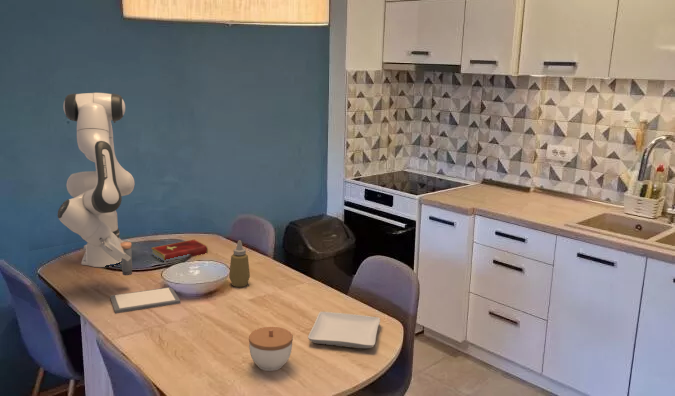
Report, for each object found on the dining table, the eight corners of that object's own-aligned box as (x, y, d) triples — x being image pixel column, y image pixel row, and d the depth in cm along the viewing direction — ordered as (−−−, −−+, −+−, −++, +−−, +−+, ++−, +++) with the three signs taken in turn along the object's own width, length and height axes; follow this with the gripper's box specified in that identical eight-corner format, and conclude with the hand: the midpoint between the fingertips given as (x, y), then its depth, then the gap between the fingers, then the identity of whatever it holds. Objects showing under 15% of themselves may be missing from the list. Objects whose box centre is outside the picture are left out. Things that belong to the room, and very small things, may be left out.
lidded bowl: (293, 354, 179) (293, 320, 176) (291, 376, 167) (291, 340, 164) (251, 353, 178) (251, 320, 176) (246, 375, 166) (246, 339, 164)
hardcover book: (207, 254, 265) (207, 245, 264) (164, 263, 251) (163, 254, 250) (194, 247, 273) (194, 238, 272) (151, 256, 260) (151, 247, 259)
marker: (121, 272, 222) (119, 242, 219) (131, 271, 224) (130, 241, 221) (122, 276, 219) (121, 245, 216) (133, 274, 220) (132, 244, 217)
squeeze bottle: (248, 289, 227) (248, 244, 223) (227, 288, 227) (226, 243, 223) (251, 281, 235) (251, 238, 230) (231, 280, 235) (231, 237, 231)
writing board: (110, 298, 214) (110, 295, 213) (171, 289, 224) (171, 286, 223) (115, 313, 202) (115, 310, 201) (180, 303, 212) (180, 300, 211)
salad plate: (319, 319, 204) (319, 309, 204) (380, 325, 201) (380, 316, 200) (306, 347, 184) (306, 337, 183) (374, 355, 181) (374, 345, 180)
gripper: (108, 237, 204) (139, 260, 211) (101, 220, 222) (130, 242, 229) (95, 250, 204) (126, 273, 210) (89, 232, 221) (118, 254, 228)
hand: (128, 256), depth 220 cm, fingers closed on marker, 4 cm apart
